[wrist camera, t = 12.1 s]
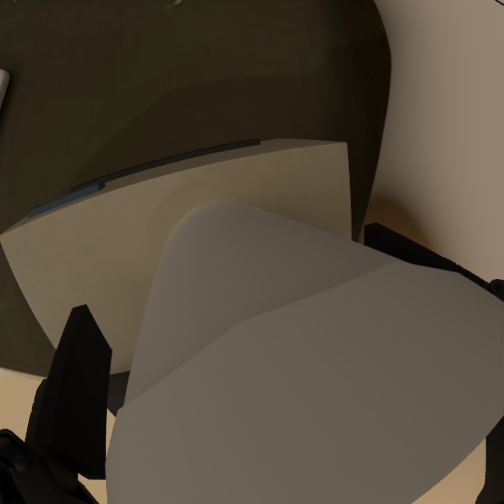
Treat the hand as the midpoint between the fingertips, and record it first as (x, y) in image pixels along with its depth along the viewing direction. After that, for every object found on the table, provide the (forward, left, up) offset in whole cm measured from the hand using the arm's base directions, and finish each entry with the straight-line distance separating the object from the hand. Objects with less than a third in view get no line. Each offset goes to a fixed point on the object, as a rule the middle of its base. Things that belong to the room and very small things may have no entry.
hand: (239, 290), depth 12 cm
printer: (+2, +2, -13) cm, 13 cm away
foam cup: (0, 0, -3) cm, 3 cm away
